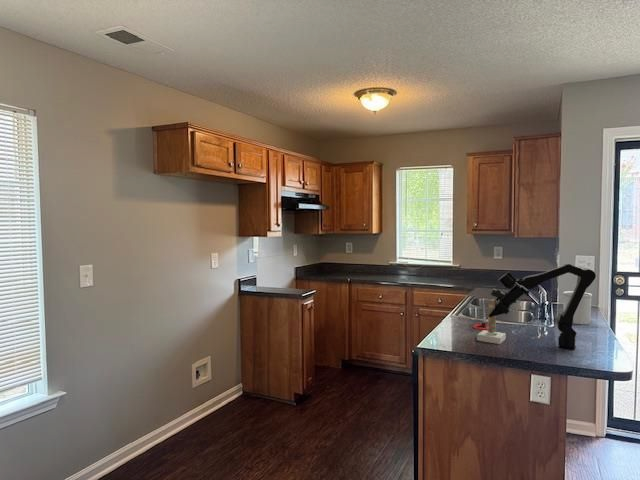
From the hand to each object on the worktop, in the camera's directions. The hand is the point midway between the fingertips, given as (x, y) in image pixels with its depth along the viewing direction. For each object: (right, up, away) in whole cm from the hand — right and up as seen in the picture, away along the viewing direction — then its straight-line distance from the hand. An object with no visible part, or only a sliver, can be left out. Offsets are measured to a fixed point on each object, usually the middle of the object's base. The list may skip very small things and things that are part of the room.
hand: (489, 315), depth 219 cm
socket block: (+2, -12, +1) cm, 13 cm away
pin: (+1, -8, 0) cm, 8 cm away
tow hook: (+6, -12, +25) cm, 29 cm away
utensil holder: (+68, -11, +40) cm, 80 cm away
